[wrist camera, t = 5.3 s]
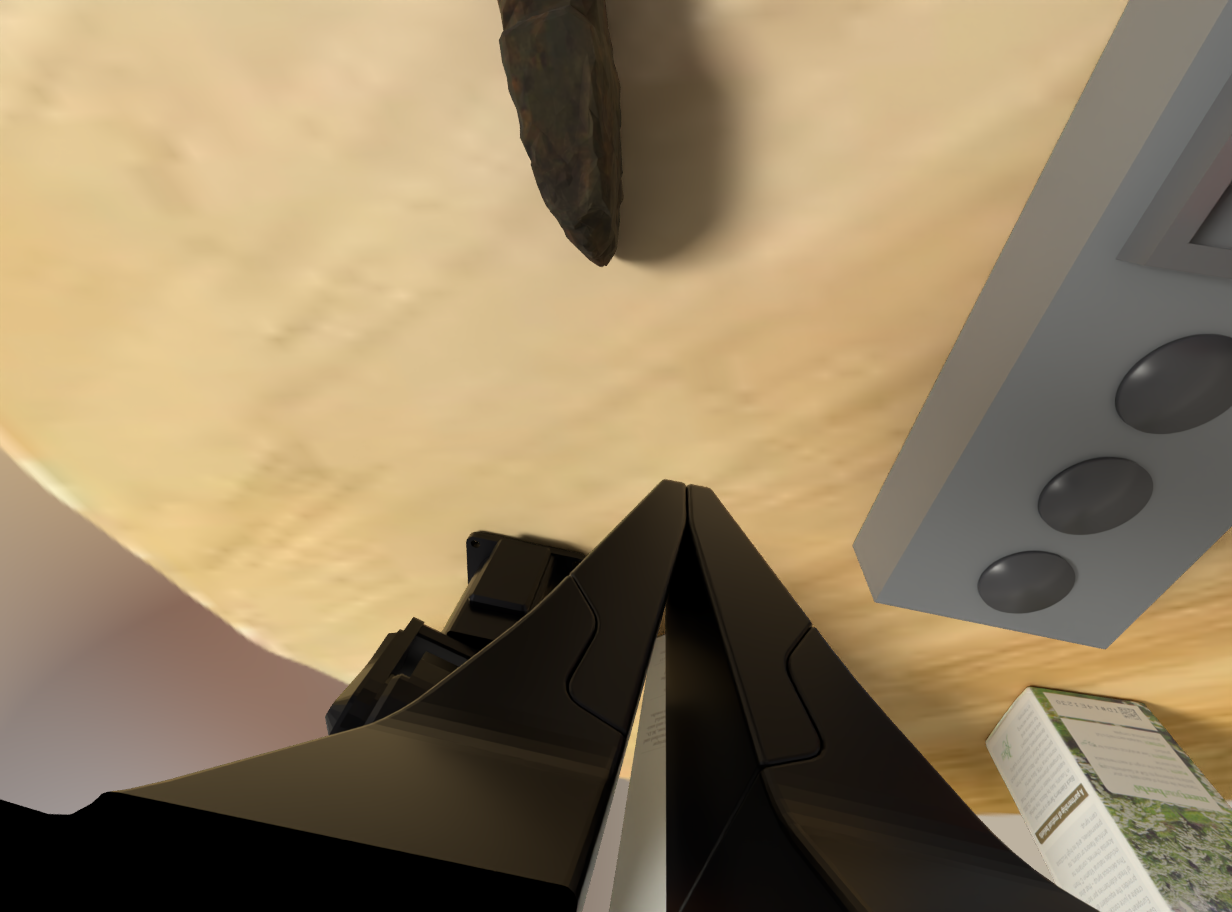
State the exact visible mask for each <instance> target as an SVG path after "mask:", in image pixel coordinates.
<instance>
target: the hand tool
mask: <svg viewBox="0 0 1232 912" xmlns="http://www.w3.org/2000/svg"><path fill="white" fill-rule="evenodd" d="M497 1H498V5H499V9H500V13H501V18H502V24H503V30H504V31H503V32H502V34H501V37H500V39H499V44H500V50H501V57H502V63H503V66H504V70H505V73H506V76H507V82H508V89H509V92H510V95H511V98H512V100H513V102H514V105H515V107H516V109H517V113H518V118H519V123H520V138H521V141H522V143H523V145H524V147H525V149H526V152H527V154H528V156H529V158H530V160H531V167H532V170H533V173H534V177H535V180H536V183H537V186H538V188H539V190H540V193H541V196H542V198H543V200H544V202H545V204H546V206H547V207H548V209H549V210H550V212H551V213H552V214H553V215H554V216H555V218H556V219H557V220H558V222H559V224H560V226H561V227H562V228H563V230H564V232H565V235H566V237H567V238H568V239H569V240H570V242H572V243H573V244H574V245H575V246H576V247H577V248H578V249H579V250H580V251H581V252H582V253H583V254H584V255H585V256H586V257H587V258H588V259H589V260H590V261H592V262H593V263H595V264H596V265H598V266H599V267H603V266H604V265H605V266H607V265H608V263H609V262H610V260H611V259H612V257H613V256H614V254H615V251H616V248H617V243H618V230H619V223H620V213H619V207H620V204H621V202H622V200H623V188H622V181H621V177H622V173H623V171H622V158H621V142H620V127H621V110H620V83H619V79H618V75H617V71H616V68H615V65H614V62H613V51H612V45H611V40H610V36H609V31H608V22H607V14H606V5H605V0H497Z"/></svg>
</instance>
